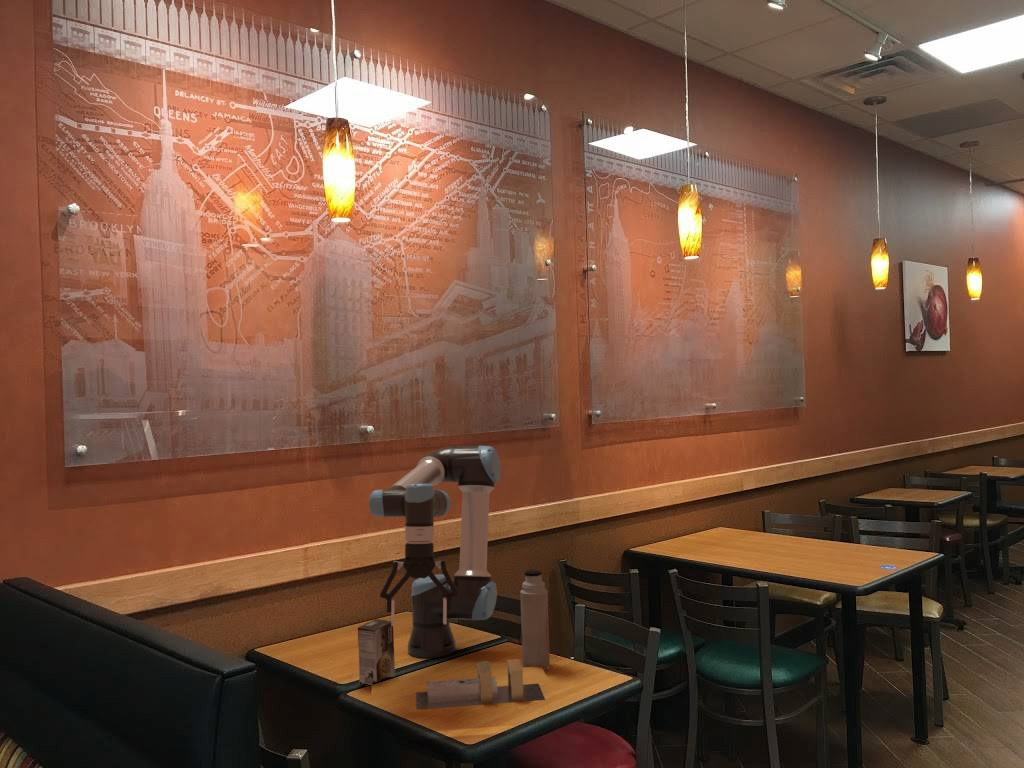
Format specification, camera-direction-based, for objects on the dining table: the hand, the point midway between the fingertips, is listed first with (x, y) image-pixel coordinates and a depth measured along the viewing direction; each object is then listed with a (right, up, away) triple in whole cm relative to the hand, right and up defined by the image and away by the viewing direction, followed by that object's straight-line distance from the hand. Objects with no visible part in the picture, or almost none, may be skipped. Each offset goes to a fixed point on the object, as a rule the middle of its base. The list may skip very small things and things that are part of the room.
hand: (418, 624), depth 219 cm
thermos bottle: (+32, -20, +26) cm, 45 cm away
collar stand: (+16, -20, 0) cm, 26 cm away
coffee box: (-14, -22, +18) cm, 31 cm away
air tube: (+11, -19, -1) cm, 22 cm away
